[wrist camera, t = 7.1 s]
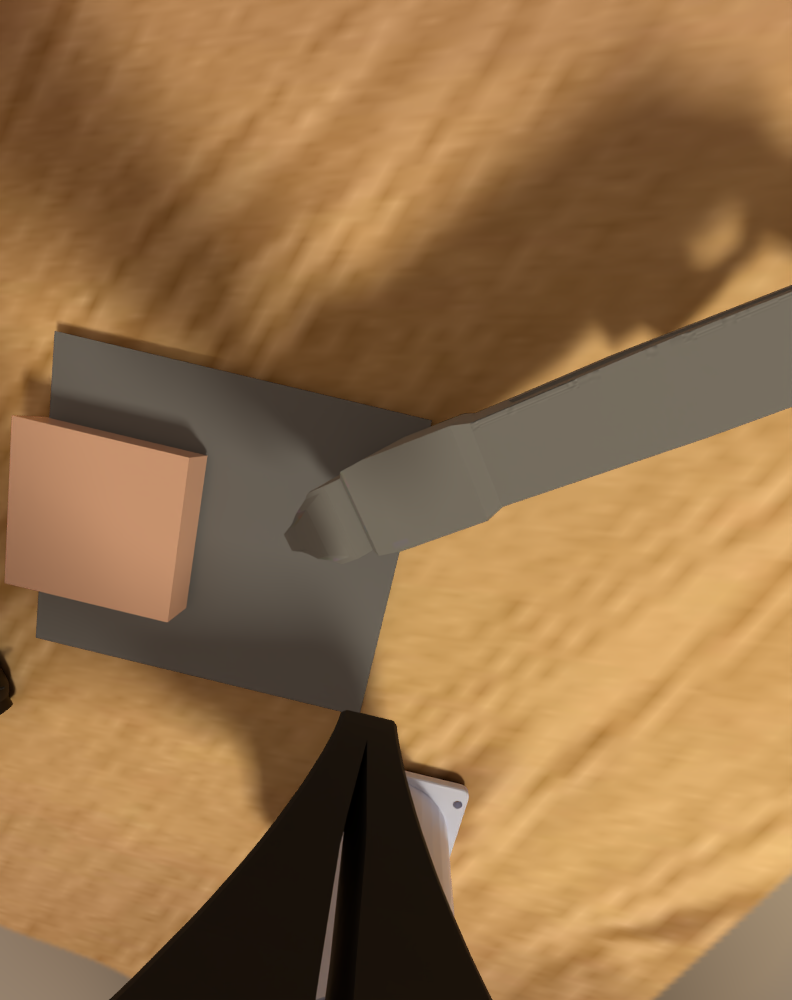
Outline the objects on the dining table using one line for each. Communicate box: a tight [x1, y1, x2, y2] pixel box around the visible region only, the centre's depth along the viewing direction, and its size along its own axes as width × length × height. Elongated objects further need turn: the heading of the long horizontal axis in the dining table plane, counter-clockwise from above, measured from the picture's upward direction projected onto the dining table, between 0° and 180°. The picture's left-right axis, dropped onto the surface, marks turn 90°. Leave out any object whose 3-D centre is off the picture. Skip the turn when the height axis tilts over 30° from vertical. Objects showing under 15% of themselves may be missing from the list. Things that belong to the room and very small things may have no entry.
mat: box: [36, 331, 432, 713], centre depth 19 cm, size 16×18×1 cm
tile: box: [5, 415, 207, 622], centre depth 18 cm, size 8×2×8 cm
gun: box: [284, 285, 792, 564], centre depth 14 cm, size 3×25×15 cm, turn 113°
